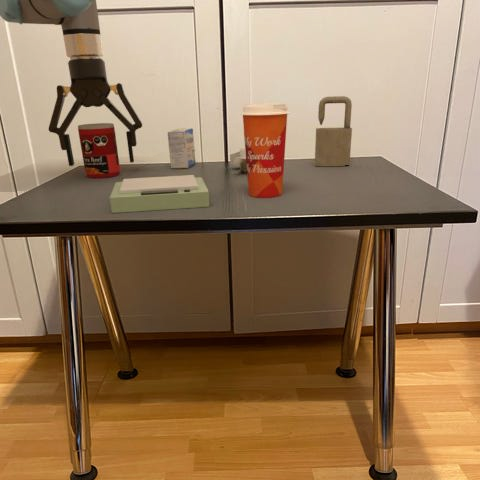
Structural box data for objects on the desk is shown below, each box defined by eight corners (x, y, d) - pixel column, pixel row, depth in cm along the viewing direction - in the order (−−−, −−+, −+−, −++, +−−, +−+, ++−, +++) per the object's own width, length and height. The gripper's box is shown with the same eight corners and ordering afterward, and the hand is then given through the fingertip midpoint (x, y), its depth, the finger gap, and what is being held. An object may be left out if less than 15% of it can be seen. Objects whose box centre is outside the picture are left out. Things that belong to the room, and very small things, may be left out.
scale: (111, 213, 78) (108, 193, 77) (117, 195, 90) (115, 178, 89) (209, 206, 80) (208, 187, 79) (202, 190, 92) (201, 174, 91)
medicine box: (188, 168, 117) (185, 130, 113) (170, 169, 117) (167, 131, 114) (195, 163, 124) (193, 127, 120) (179, 164, 124) (176, 128, 121)
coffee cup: (236, 197, 86) (233, 105, 79) (252, 188, 92) (250, 103, 86) (281, 200, 83) (281, 105, 76) (294, 190, 90) (296, 102, 83)
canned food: (78, 177, 110) (69, 126, 105) (101, 171, 117) (94, 123, 112) (105, 179, 107) (97, 126, 102) (127, 173, 114) (120, 123, 109)
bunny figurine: (268, 147, 117) (273, 147, 103) (268, 169, 119) (273, 172, 105) (229, 148, 117) (229, 148, 103) (230, 170, 119) (229, 173, 105)
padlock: (314, 164, 118) (317, 96, 111) (348, 163, 116) (353, 95, 110) (314, 166, 114) (317, 97, 107) (349, 166, 113) (354, 96, 106)
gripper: (145, 57, 106) (156, 157, 116) (28, 61, 103) (49, 164, 113) (145, 56, 100) (156, 162, 109) (19, 59, 97) (42, 169, 106)
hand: (102, 163), depth 111 cm, fingers open, 13 cm apart
